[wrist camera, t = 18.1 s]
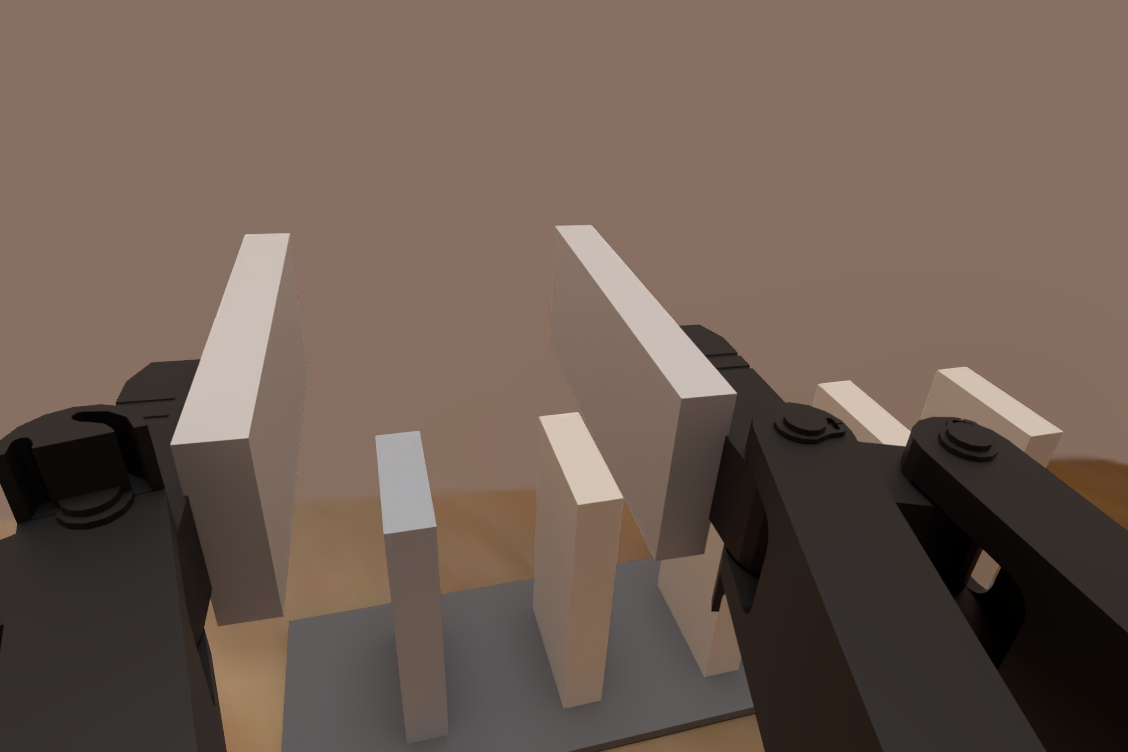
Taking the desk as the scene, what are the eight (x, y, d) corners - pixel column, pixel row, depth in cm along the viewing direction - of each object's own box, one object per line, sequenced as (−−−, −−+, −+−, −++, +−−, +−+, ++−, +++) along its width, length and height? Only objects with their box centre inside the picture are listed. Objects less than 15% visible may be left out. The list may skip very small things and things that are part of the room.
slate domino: (432, 626, 36) (419, 430, 30) (448, 734, 31) (436, 526, 25) (396, 633, 36) (375, 435, 30) (406, 744, 31) (383, 534, 25)
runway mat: (919, 516, 46) (921, 510, 46) (1047, 641, 38) (1051, 635, 38) (290, 628, 37) (289, 621, 36) (279, 828, 28) (277, 821, 28)
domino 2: (687, 579, 40) (721, 395, 34) (738, 669, 35) (788, 473, 29) (657, 584, 39) (685, 399, 33) (704, 677, 35) (747, 479, 28)
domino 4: (901, 539, 43) (966, 366, 37) (974, 616, 39) (1063, 431, 32) (875, 544, 43) (937, 370, 37) (946, 622, 38) (1031, 436, 32)
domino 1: (566, 602, 38) (578, 411, 32) (601, 700, 33) (623, 498, 27) (532, 608, 38) (538, 416, 32) (563, 708, 33) (577, 505, 27)
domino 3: (798, 558, 42) (849, 380, 36) (862, 641, 37) (933, 451, 31) (771, 563, 41) (817, 384, 35) (831, 648, 36) (897, 456, 30)
